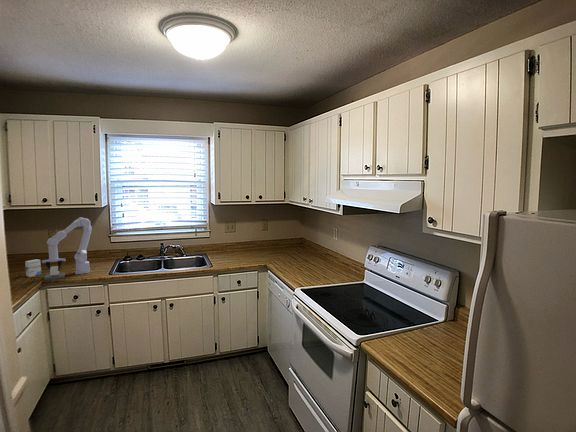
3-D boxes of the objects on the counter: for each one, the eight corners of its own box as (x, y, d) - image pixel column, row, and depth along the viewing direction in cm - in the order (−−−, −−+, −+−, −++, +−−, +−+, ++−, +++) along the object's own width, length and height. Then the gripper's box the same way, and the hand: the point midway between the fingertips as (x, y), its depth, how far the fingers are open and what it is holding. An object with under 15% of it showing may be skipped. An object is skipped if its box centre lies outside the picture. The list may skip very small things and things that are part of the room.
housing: (58, 274, 258) (57, 268, 257) (50, 275, 255) (49, 268, 255) (59, 272, 264) (58, 265, 263) (51, 273, 261) (50, 266, 261)
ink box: (38, 273, 270) (37, 258, 269) (41, 274, 268) (40, 259, 266) (25, 276, 263) (24, 261, 261) (29, 277, 260) (28, 262, 259)
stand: (65, 274, 267) (64, 272, 267) (63, 278, 258) (63, 275, 258) (46, 276, 261) (46, 274, 261) (44, 280, 253) (44, 277, 252)
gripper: (65, 251, 265) (66, 268, 266) (42, 253, 258) (43, 271, 259) (64, 253, 259) (65, 271, 260) (41, 255, 252) (42, 273, 253)
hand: (54, 271), depth 259 cm, fingers closed on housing, 5 cm apart
